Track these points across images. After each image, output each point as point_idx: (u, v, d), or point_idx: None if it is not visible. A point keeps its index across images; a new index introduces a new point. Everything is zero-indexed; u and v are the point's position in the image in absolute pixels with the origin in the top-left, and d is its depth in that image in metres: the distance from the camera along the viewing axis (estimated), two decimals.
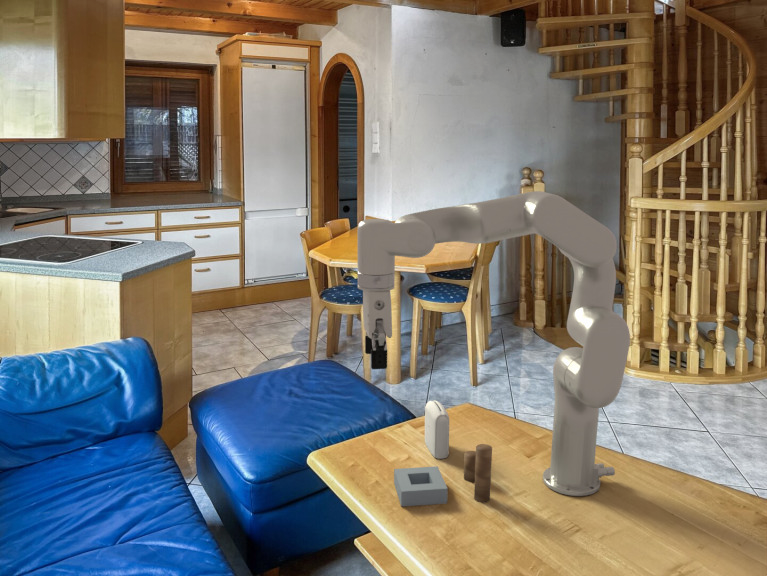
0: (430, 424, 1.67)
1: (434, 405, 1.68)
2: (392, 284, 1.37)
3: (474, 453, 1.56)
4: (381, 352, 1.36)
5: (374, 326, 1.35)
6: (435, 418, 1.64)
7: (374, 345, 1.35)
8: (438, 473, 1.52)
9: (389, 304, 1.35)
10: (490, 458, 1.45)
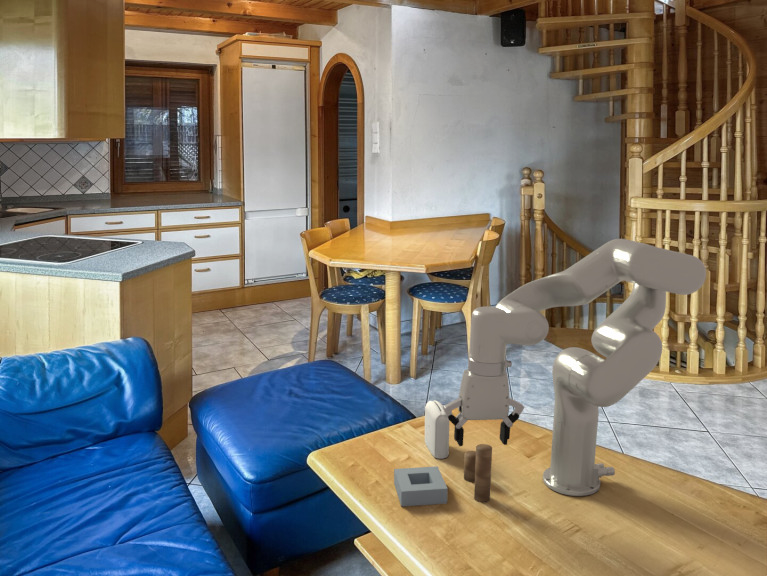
0: (430, 424, 1.67)
1: (434, 405, 1.68)
2: None
3: (474, 453, 1.56)
4: None
5: None
6: (435, 418, 1.64)
7: (511, 421, 1.44)
8: (438, 473, 1.52)
9: None
10: (490, 458, 1.45)
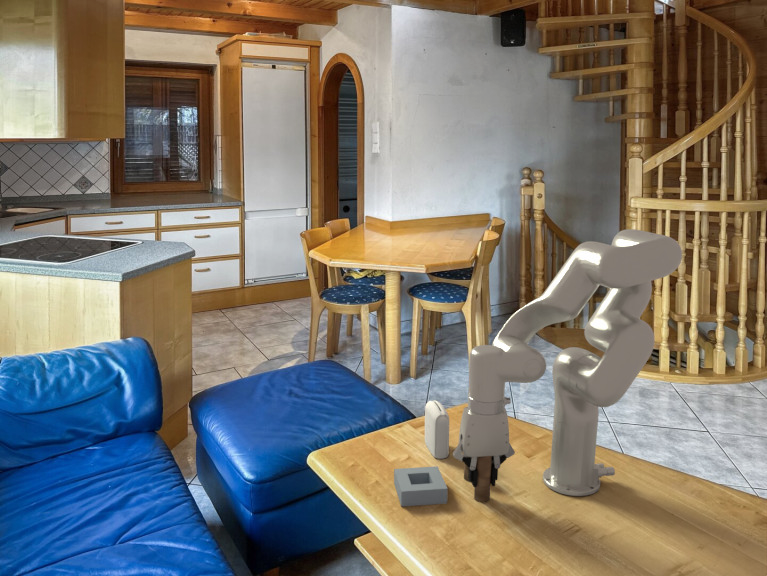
0: (430, 424, 1.67)
1: (434, 405, 1.68)
2: None
3: None
4: None
5: None
6: (434, 418, 1.64)
7: (499, 463, 1.46)
8: (438, 473, 1.52)
9: None
10: (490, 458, 1.45)
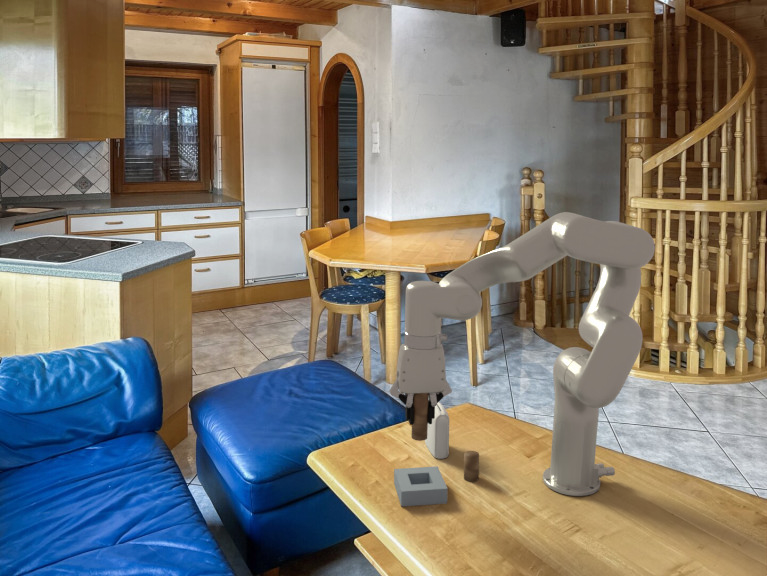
0: (430, 424, 1.67)
1: None
2: None
3: (473, 453, 1.56)
4: None
5: None
6: (435, 418, 1.64)
7: (436, 401, 1.45)
8: (438, 473, 1.52)
9: None
10: (427, 395, 1.44)
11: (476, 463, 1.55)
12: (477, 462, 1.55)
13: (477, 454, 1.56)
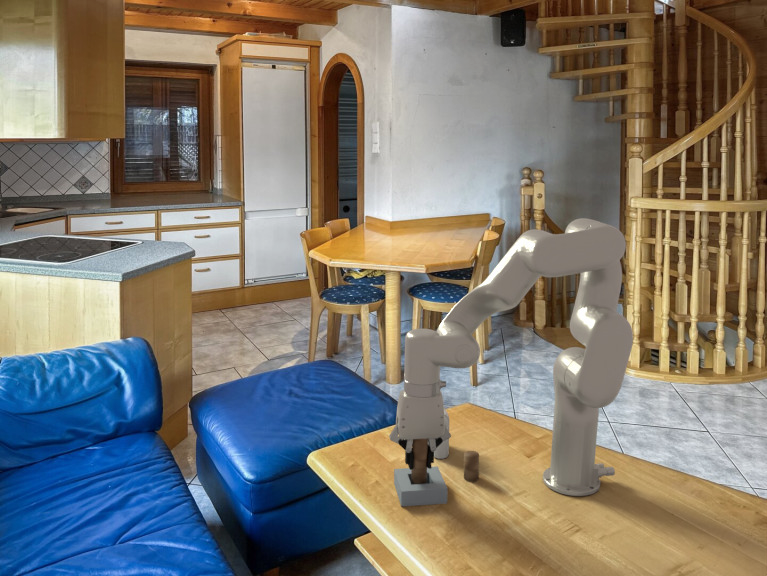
0: None
1: None
2: None
3: (473, 453, 1.56)
4: None
5: None
6: None
7: (435, 446, 1.47)
8: (438, 473, 1.52)
9: None
10: (426, 441, 1.47)
11: (476, 463, 1.55)
12: (477, 462, 1.55)
13: (477, 454, 1.55)
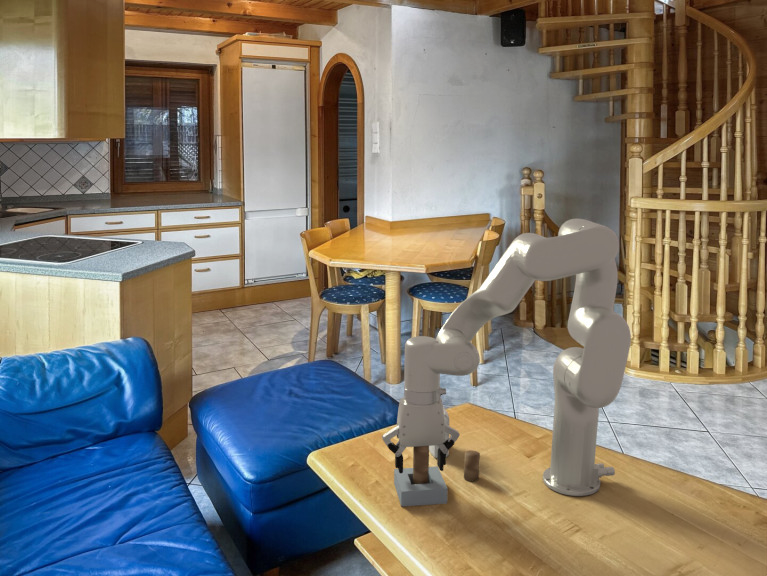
0: None
1: None
2: None
3: (474, 452, 1.56)
4: None
5: (444, 430, 1.47)
6: None
7: (446, 448, 1.48)
8: (438, 473, 1.52)
9: None
10: (427, 453, 1.47)
11: (477, 463, 1.55)
12: (478, 462, 1.55)
13: (478, 454, 1.56)
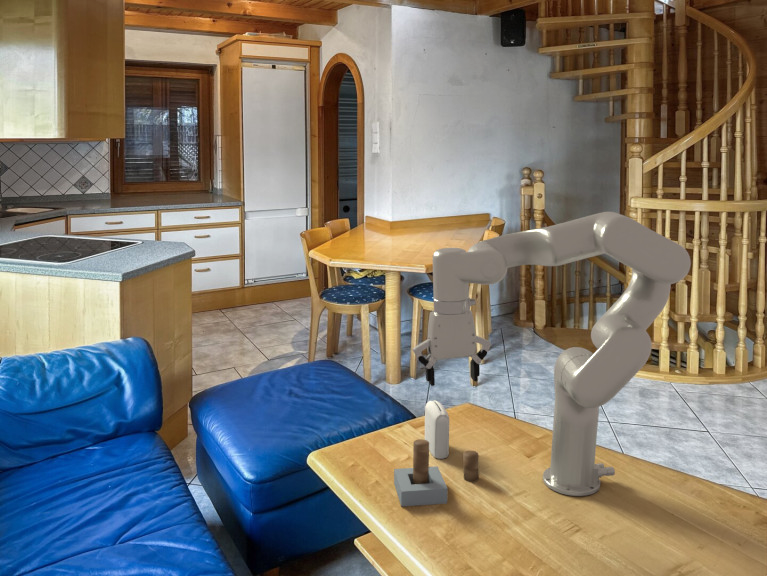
0: (430, 424, 1.67)
1: (434, 405, 1.68)
2: None
3: (472, 452, 1.56)
4: None
5: (475, 342, 1.47)
6: (435, 418, 1.64)
7: (479, 358, 1.48)
8: (438, 473, 1.52)
9: None
10: (427, 453, 1.47)
11: (476, 463, 1.55)
12: (477, 461, 1.55)
13: (476, 453, 1.56)
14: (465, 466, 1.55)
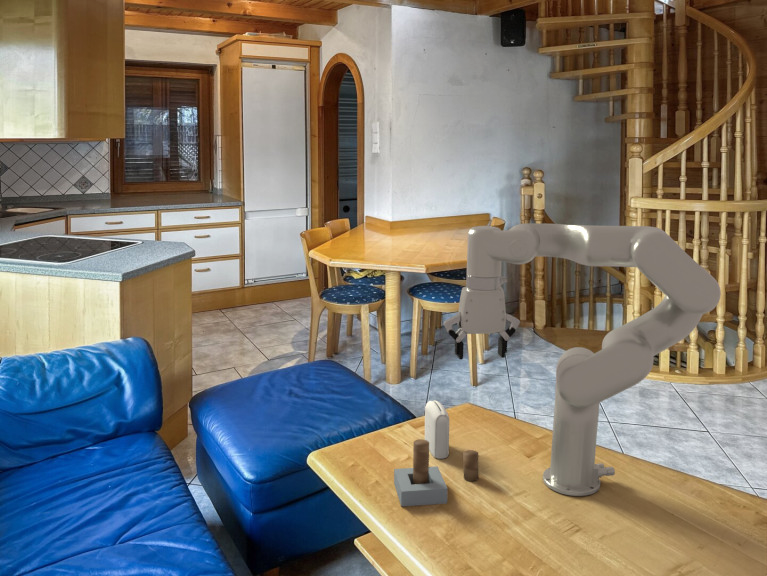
0: (430, 424, 1.67)
1: (434, 405, 1.68)
2: None
3: (472, 452, 1.57)
4: None
5: None
6: (435, 418, 1.64)
7: (507, 335, 1.53)
8: (438, 473, 1.52)
9: None
10: (427, 453, 1.47)
11: (477, 461, 1.55)
12: (477, 460, 1.56)
13: (476, 452, 1.56)
14: (466, 465, 1.55)
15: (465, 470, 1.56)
